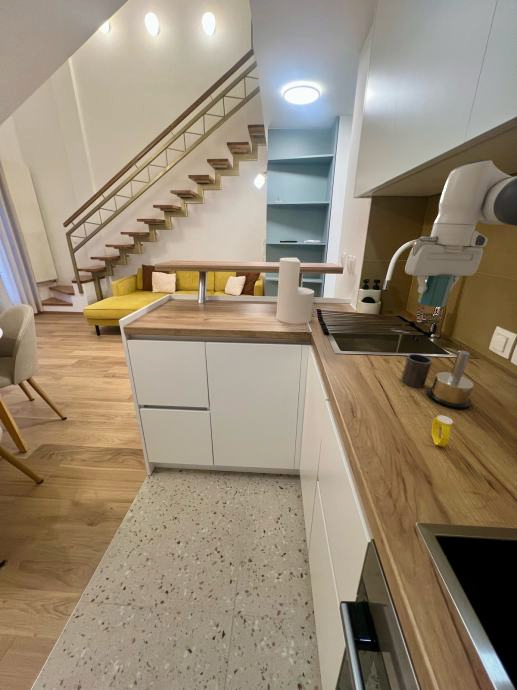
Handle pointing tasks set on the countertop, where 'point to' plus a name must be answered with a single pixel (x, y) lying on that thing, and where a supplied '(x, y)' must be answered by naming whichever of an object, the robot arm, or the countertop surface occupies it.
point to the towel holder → (453, 386)
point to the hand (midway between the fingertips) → (434, 292)
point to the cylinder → (293, 294)
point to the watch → (446, 424)
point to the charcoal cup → (416, 370)
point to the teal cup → (436, 291)
